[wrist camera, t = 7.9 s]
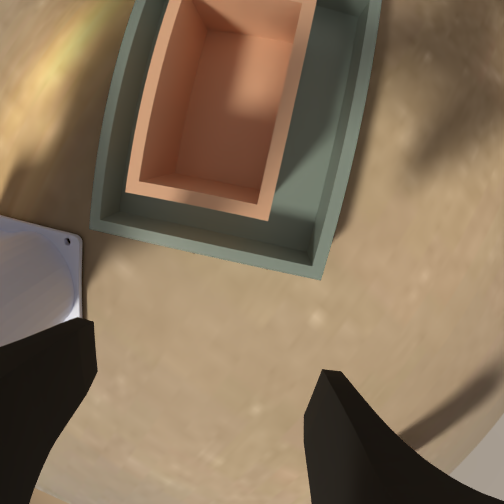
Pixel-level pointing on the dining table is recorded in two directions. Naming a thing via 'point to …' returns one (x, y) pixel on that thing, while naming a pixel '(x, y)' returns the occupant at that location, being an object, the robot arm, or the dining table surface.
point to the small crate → (220, 103)
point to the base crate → (293, 161)
